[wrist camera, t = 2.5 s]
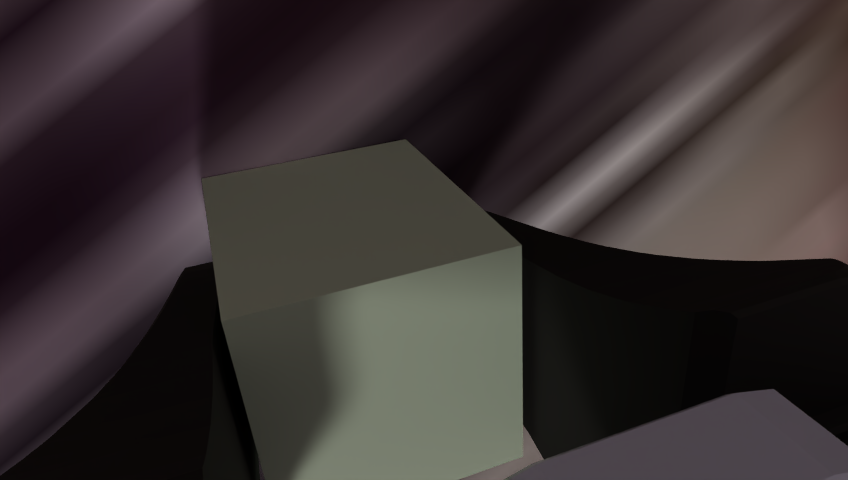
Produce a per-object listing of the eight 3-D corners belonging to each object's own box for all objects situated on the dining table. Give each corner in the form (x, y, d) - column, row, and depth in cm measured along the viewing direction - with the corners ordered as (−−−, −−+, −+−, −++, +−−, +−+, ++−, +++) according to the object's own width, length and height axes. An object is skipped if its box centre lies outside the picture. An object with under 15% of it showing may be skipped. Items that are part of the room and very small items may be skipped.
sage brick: (421, 304, 15) (522, 456, 11) (245, 350, 14) (282, 541, 10) (405, 139, 13) (521, 245, 9) (201, 178, 12) (221, 321, 8)
